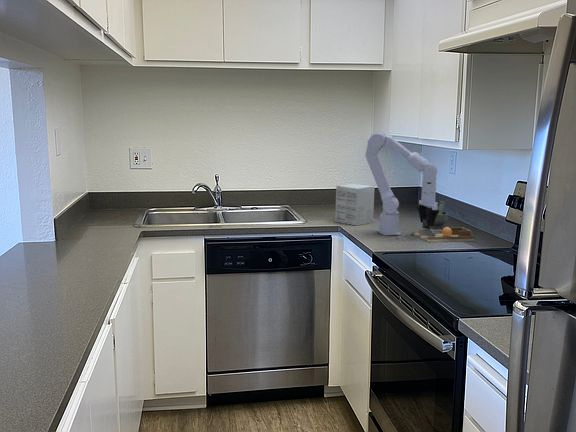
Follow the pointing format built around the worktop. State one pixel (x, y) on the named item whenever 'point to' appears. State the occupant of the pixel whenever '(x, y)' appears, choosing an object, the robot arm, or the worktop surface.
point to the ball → (446, 231)
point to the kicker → (427, 228)
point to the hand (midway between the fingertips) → (426, 224)
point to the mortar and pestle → (440, 217)
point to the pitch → (456, 236)
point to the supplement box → (354, 204)
